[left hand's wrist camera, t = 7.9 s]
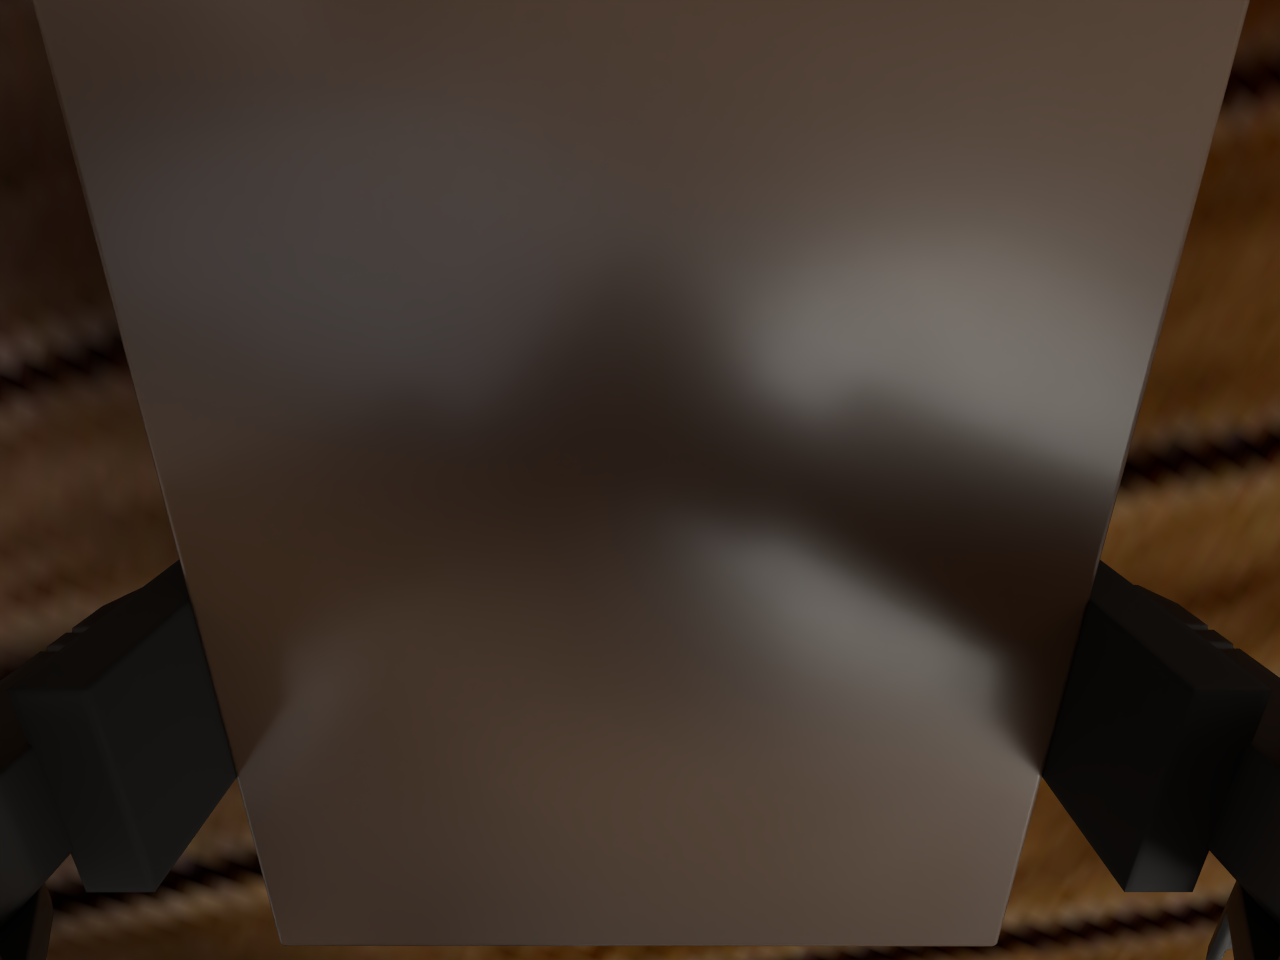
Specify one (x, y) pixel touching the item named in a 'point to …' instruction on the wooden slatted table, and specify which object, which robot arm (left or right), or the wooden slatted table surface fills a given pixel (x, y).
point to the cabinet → (639, 431)
